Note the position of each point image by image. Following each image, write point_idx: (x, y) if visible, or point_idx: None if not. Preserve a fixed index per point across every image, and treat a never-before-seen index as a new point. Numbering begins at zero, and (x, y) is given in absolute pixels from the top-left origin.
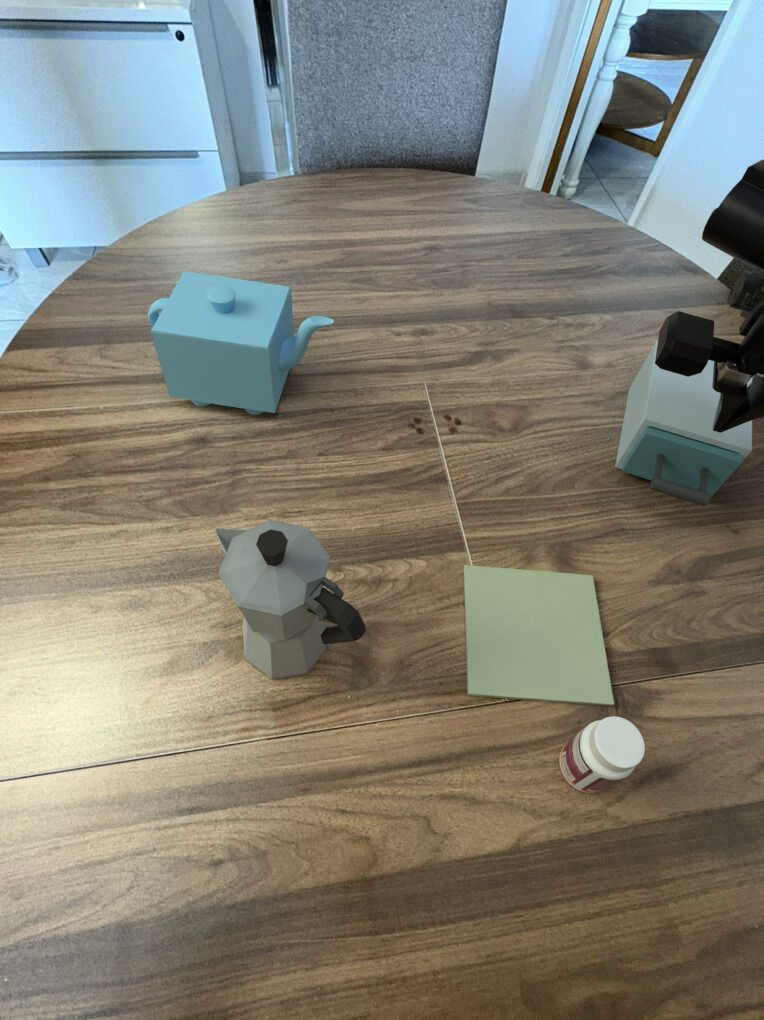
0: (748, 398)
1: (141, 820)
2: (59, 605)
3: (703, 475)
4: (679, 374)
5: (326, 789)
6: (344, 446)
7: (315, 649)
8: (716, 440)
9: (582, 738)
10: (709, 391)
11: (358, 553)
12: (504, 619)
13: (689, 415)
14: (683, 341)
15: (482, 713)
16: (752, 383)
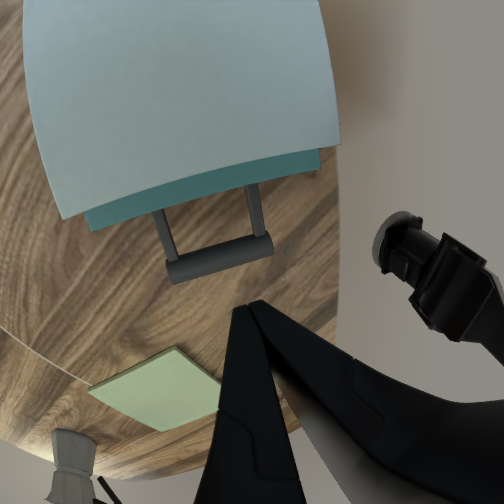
0: (344, 470)
1: (112, 469)
2: (22, 445)
3: (250, 196)
4: None
5: (145, 457)
6: None
7: (91, 451)
8: (256, 159)
9: None
10: None
11: (42, 404)
12: (143, 405)
13: (157, 113)
14: None
15: (174, 429)
16: (376, 473)
